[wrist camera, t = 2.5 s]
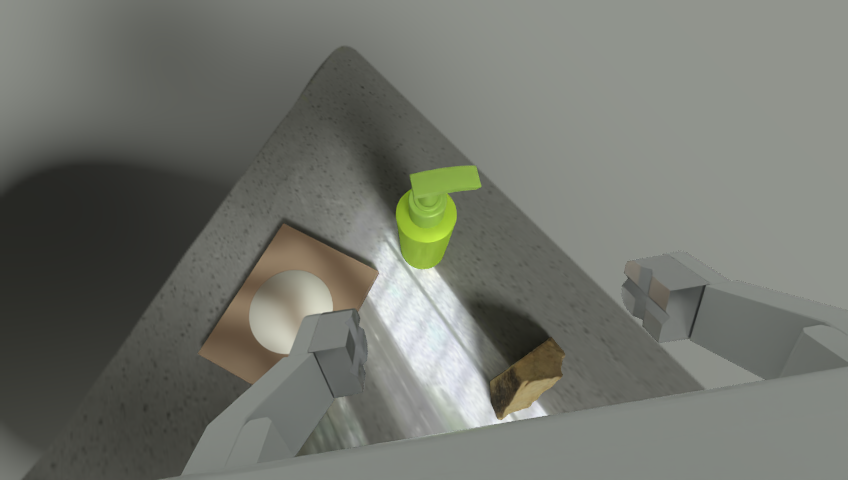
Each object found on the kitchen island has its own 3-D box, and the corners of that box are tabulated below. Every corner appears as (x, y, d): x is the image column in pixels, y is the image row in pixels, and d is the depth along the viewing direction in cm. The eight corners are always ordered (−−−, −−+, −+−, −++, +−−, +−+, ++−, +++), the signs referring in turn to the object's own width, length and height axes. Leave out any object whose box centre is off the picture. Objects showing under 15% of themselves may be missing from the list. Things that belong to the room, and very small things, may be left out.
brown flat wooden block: (304, 409, 39) (300, 412, 37) (205, 352, 40) (197, 353, 39) (379, 273, 43) (377, 270, 42) (287, 226, 45) (283, 223, 43)
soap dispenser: (456, 263, 44) (489, 208, 25) (405, 272, 44) (397, 223, 24) (447, 222, 46) (471, 140, 26) (397, 230, 45) (385, 153, 26)
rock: (561, 312, 40) (484, 324, 38) (613, 360, 33) (519, 378, 31) (550, 382, 44) (480, 396, 42) (594, 439, 36) (510, 459, 34)
